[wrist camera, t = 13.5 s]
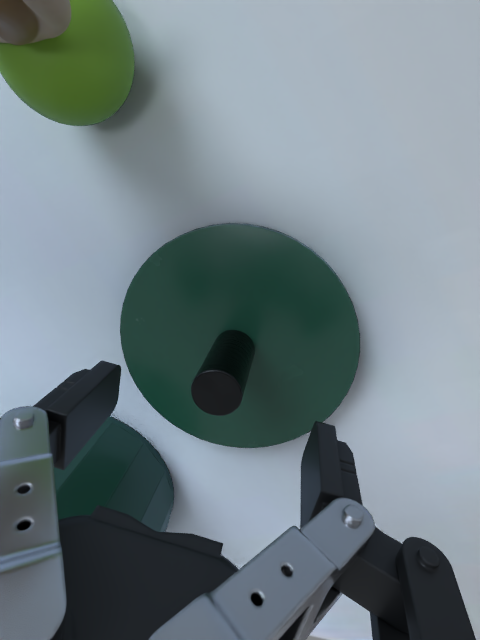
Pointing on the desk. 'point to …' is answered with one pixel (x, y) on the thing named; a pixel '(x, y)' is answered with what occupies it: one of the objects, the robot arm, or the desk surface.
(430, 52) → the desk surface
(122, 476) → the canister
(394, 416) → the desk surface
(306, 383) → the lid
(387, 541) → the robot arm
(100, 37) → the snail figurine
